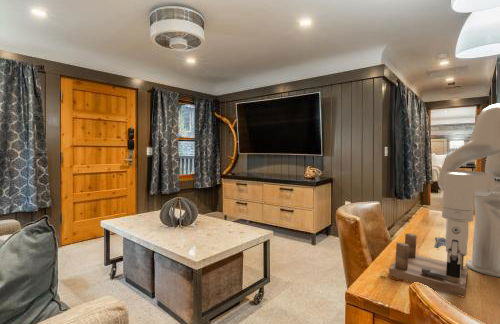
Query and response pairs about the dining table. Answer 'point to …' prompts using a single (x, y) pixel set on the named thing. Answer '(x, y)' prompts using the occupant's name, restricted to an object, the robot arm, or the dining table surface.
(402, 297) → the dining table surface
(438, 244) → the driftwood
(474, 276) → the dining table surface
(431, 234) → the dining table surface
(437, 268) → the stool
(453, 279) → the hinged leg
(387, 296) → the dining table surface
